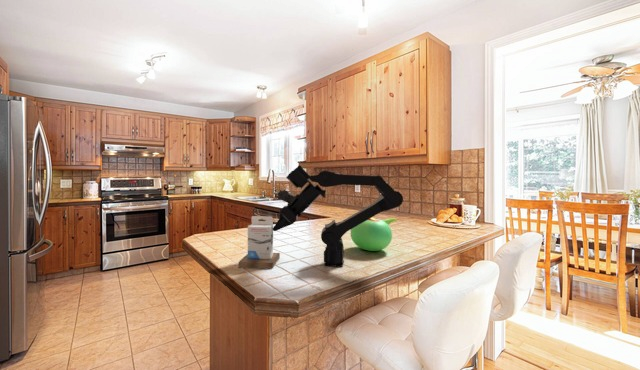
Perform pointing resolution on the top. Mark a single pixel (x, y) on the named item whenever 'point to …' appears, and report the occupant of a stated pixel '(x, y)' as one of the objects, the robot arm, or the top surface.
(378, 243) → the round green pot
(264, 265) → the walnut block
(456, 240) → the top surface
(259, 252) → the ink box
